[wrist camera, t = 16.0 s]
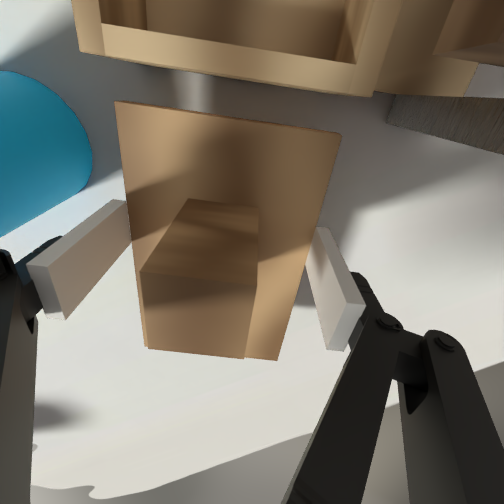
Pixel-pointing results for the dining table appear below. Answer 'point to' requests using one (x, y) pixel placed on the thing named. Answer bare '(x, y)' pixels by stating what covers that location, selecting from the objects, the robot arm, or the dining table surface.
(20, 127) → the mug
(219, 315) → the lid
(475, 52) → the bar
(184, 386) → the dining table surface
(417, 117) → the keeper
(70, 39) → the dining table surface
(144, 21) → the toolbox
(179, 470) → the dining table surface
